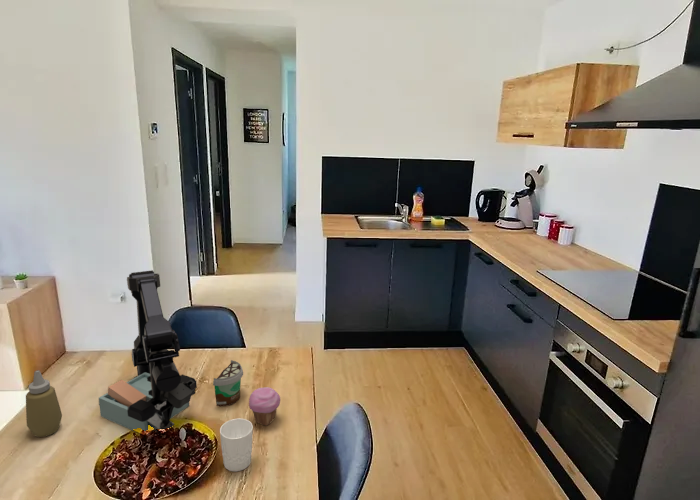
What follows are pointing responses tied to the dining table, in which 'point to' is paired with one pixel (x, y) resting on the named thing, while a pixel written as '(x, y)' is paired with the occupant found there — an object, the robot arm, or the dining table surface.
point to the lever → (156, 422)
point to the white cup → (236, 444)
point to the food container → (228, 385)
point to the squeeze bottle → (42, 407)
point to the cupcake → (264, 404)
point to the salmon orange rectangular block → (125, 393)
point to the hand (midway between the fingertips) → (166, 423)
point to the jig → (119, 411)
